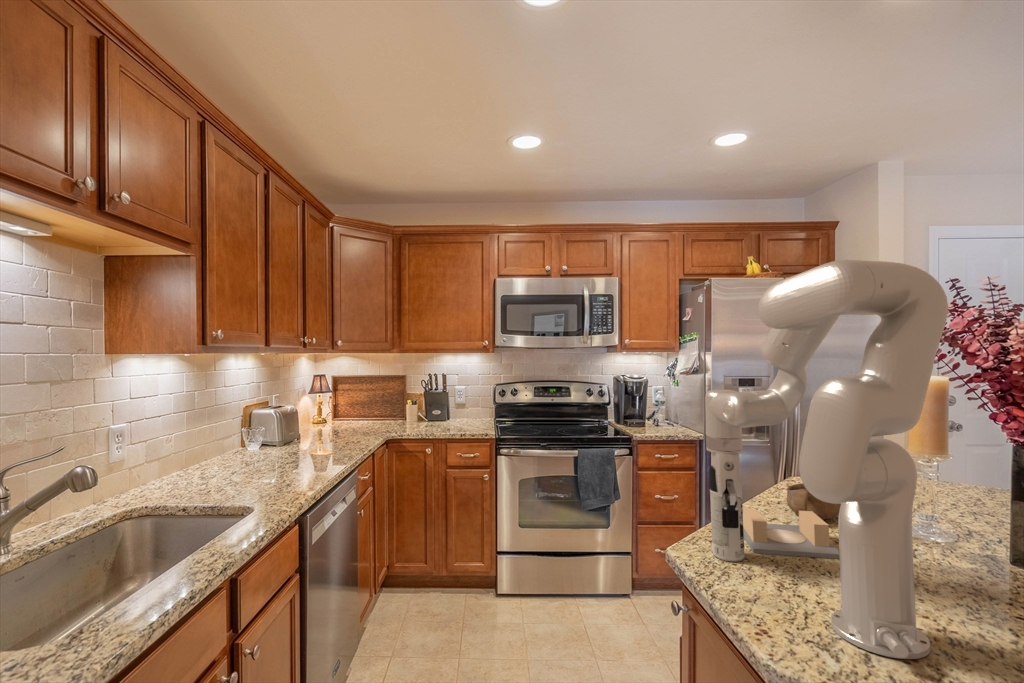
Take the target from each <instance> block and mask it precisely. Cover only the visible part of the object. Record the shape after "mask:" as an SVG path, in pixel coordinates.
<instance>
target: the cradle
mask: <svg viewBox="0 0 1024 683" xmlns="http://www.w3.org/2000/svg"><path fill="white" fill-rule="evenodd" d="M798 523H799V525H797V524H780V523H779V524H778V523H767V520H766V519H765V518H764V517H763V515H762V514H761V513H760V512H759V511H758V509H757V508H754V507H753V508H752V507H743V531H744V542H746V543H747V545H748V547H749V548H750V550H751V551H752V553H753V554H764V555H776V556H777V555H779V556H791V557H805V558H807V557H808V558H818V559H819V558H821V559H835V560H840V554H839V550H838V549H837V548H836V547H835V546H834V545H833V544H832V543H830V528H829V527H830V525H829V524H828V523H827V522H826V521H824V519H821V518H820V517H818V516H817V515H816V514H815V513H814V512H812V511H799V517H798Z"/></svg>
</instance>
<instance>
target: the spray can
mask: <svg viewBox="0 0 1024 683" xmlns="http://www.w3.org/2000/svg"><path fill="white" fill-rule="evenodd" d="M728 466H729V465H728ZM724 494H726V495H729V494H728V490H727V486H726V489H725V491H724ZM709 496H710V497H709V498H710V500H709V503H710V522H711V524H710V525H711V547H712V548H711V549H712V554H713V556H714V557H715V558H717V559H719V560H720V561H726V562H731V563H732V562H733V563H734V562H735V563H736V562H741V561H743V560H744V559H745V539H744V531H743V508H744V506H743V497H742V498H741V499H739V498H738V497H737V496H736V499H737V505H738V521H739V527H738V528H724V527H723V526H722V508H723V501H722V498H721V497H719V496H718V492H717V486H716V474H715V469H714V468H713V467H712V466H711V465H710V466H709ZM726 503H727V499H726Z"/></svg>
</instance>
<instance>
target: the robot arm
mask: <svg viewBox="0 0 1024 683" xmlns="http://www.w3.org/2000/svg"><path fill="white" fill-rule="evenodd" d="M757 307H758V308H757V311H758V312H757V313H758V317H759V320H760V321H761V322H762V324H764V325H765V326H767V327H768V328H770V330H769V331H768V334H767V335H766V337H765V338H764V340H763V342H762V344H761V345H760V349H759V350H760V354H761V356H762V358H763V359H764V360H765V361H766V362H767V363H769V364H770V365H771V366H773V367H774V368H776V369H778V370H777V374H776V376H775V378H774V379H773V381H772V383H770V385H769V387H768V388H767V389H766V390H749V391H737V390H734V389H710V390H708V391H706V393H705V398H704V402H705V403H704V404H705V405H704V406H705V407H704V408H705V445H706V451H707V452H710V453H711V454H710V457H711V459H710V460H711V464H710V466H712V467H713V468H714V469H715V474H716V486H717V492H718V496H719V497H721V498H722V501H723V508H722V526H723V527H724V528H738V527H739V521H738V505H737V499H736V496H737V497H738V498H739V499H741V498H742V499H743V496H744V495H743V480H742V468H741V460H740V459H741V458H740V454H741V453H743V428H745V429H746V428H756V427H764V426H765V427H766V426H775V425H779V424H781V423H783V422H785V421H786V420H788V419H789V417H790V416H792V414H793V413H794V411H795V410H796V409H797V407H798V406H799V405H800V403H801V402H802V400H803V398H804V396H805V393H806V388H807V373H806V366H807V364H808V362H810V360H811V359H812V357H813V355H814V354H815V352H816V351H817V350H818V348H819V347H820V345H821V344H822V342H823V341H824V340H825V338H826V336H828V334H829V332H830V331H831V329H832V327H833V326H834V324H836V322H837V320H838V319H839V317H840V316H843V315H846V316H847V315H853V316H854V315H855V316H856V315H857V316H858V315H859V316H861V315H862V316H867V315H868V316H869V315H870V316H871V315H872V316H875V315H876V316H878V317H880V322H879V323H878V325H877V326H875V329H873V332H872V333H871V334H870V336H869V337H868V339H867V341H866V344H865V347H864V352H863V357H862V361H861V365H860V367H859V368H860V369H859V370H858V372H857V374H849V375H847V374H846V375H841V376H836V377H833V378H830V379H829V380H826V381H824V383H822V384H821V385H820V386H818V388H817V390H815V393H814V394H813V396H812V398H811V400H810V405H809V408H808V411H807V412H808V414H807V418H806V423H805V428H804V432H803V437H802V442H801V448H800V453H799V458H798V470H799V471H798V472H799V476H800V479H801V482H802V483H803V484H804V486H805V488H806V489H807V490H808V492H809V493H810V494H811V495H813V496H814V497H815V498H817V499H819V500H821V501H823V502H827V503H832V504H841V506H840V511H839V515H838V547H839V548H838V549H839V550H838V551H839V554H840V559H839V570H840V571H839V574H840V577H839V578H840V593H841V594H840V595H841V596H840V597H841V598H840V599H841V609H838V610H836V611H834V612H833V613H832V614H831V616H830V623H831V627H832V628H833V630H834V631H835V632H836V634H838V635H839V636H840V637H841V638H842V639H844V640H846V641H847V642H849V643H850V644H852V645H854V646H856V647H858V648H860V649H861V650H862V649H863V650H865V651H867V652H871V653H873V654H877V655H879V656H883V657H888V658H892V659H899V660H900V659H901V660H917V659H922V658H925V657H927V656H928V655H929V654H930V653H931V641H930V639H929V637H928V636H927V635H926V634H925V633H924V632H923V631H921V630H920V629H919V628H918V627H917V616H916V615H917V613H916V610H917V609H916V591H915V574H914V573H915V570H914V567H915V566H914V552H913V551H914V550H913V548H914V547H913V545H914V544H913V543H914V542H913V541H914V540H913V508H914V501H915V494H916V490H917V482H918V473H917V466H916V464H915V462H914V459H913V457H912V456H911V454H910V452H908V450H906V449H905V447H903V446H902V445H900V444H898V443H897V442H894V441H893V440H890V439H889V438H888V439H887V438H883V436H891V435H898V434H903V433H906V432H908V431H910V430H912V429H914V427H915V426H917V424H918V423H919V420H920V418H921V415H922V413H923V408H924V405H925V401H926V397H927V394H928V390H929V389H928V388H929V384H930V382H931V377H932V374H933V370H934V363H935V360H936V354H937V351H938V349H939V345H940V341H941V339H942V336H943V333H944V329H945V327H946V324H947V319H948V315H949V302H948V297H947V294H946V292H945V290H944V288H943V286H942V285H941V284H940V282H939V281H938V280H937V279H936V278H935V277H934V276H932V275H931V274H930V273H928V272H927V271H925V270H923V269H921V268H918V267H916V266H913V265H911V264H906V263H902V262H901V263H900V262H894V261H882V260H881V261H880V260H862V259H861V260H860V259H842V260H841V259H840V260H833V261H830V262H826V263H823V264H821V265H818V266H815V267H813V268H811V269H807V270H805V271H803V272H801V273H800V272H799V273H796V274H795V275H792V276H789V277H786V278H784V279H782V280H780V281H776V283H773V284H772V285H771V286H769V287H768V288H767V289H766V290H765V291H764V292H763V294H762V295H761V297H760V299H759V302H758V306H757ZM728 465H729V466H728ZM726 486H727V490H728V494H729V495H726V494H724V491H725V489H726ZM726 499H727V503H726Z"/></svg>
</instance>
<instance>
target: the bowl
mask: <svg viewBox="0 0 1024 683" xmlns="http://www.w3.org/2000/svg"><path fill="white" fill-rule="evenodd" d="M786 505H787V506H788V508H789V509H790V510H791V511H792V512H793V513H794V514H795V515H796V517H798V518H799V511H812V512H814V513H815V514H816V515H817V516H818V517H820V518H821V519H822V520H829V519H832V518H835V517H837V516H838V517H839V511H840V506H841V504H832V503H827V502H823V501H821V500H819V499H817V498H815V497H814V496H813V495H811V494H810V493H809V492H808V490H807V489H806V488H805V486H804V484H803V482H802V483H796V484H792V485H789V486H788V487H787V488H786Z"/></svg>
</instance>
